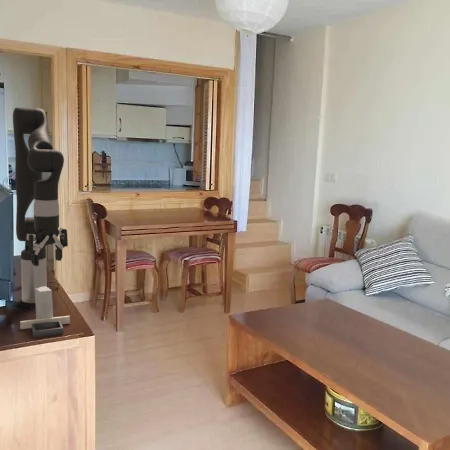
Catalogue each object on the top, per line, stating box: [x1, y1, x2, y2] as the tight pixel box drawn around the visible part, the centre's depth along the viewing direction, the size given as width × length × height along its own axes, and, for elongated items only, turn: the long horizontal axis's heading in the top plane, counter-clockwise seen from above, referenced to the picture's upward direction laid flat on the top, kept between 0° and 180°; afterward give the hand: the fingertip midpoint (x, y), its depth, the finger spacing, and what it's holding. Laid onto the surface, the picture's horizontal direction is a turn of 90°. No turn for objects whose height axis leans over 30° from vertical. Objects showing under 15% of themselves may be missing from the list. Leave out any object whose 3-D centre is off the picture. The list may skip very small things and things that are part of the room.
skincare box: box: [34, 286, 54, 319], centre depth 167 cm, size 6×4×12 cm
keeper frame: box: [31, 321, 64, 338], centre depth 160 cm, size 7×9×2 cm
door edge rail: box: [19, 315, 71, 330], centre depth 165 cm, size 1×16×2 cm, turn 117°
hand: (47, 262), depth 153 cm, fingers open, 8 cm apart
